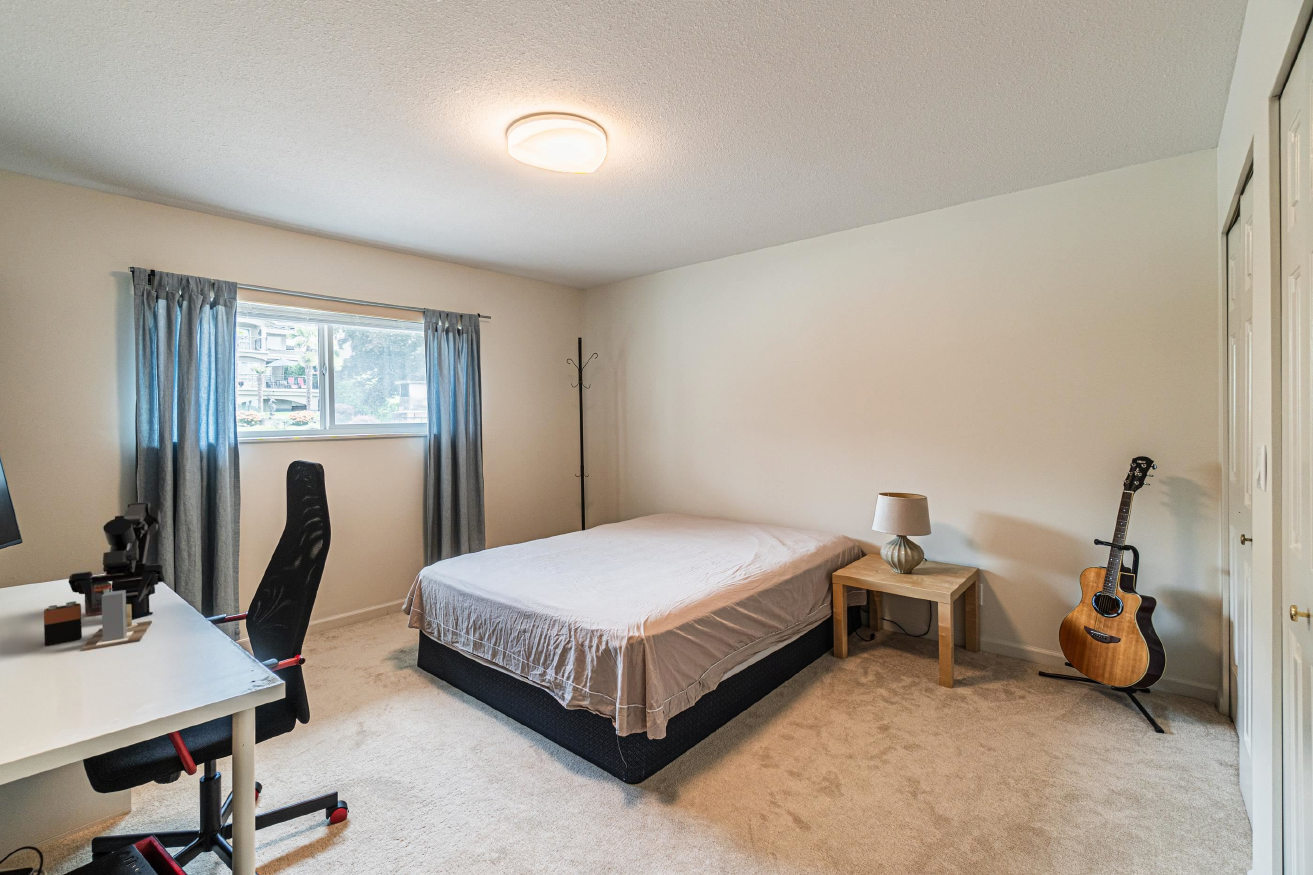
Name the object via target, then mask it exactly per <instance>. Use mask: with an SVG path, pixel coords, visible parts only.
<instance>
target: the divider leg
mask: <svg viewBox="0 0 1313 875" xmlns="http://www.w3.org/2000/svg"><path fill="white" fill-rule="evenodd" d="M101 619H102V624H101V628H102V629H103V642H105V641H111V640H117V639H123V638H124V637H125V636H126V635H127V621H126V590H122V591H114V592H106V593H104V594H103V595H102V614H101Z"/></svg>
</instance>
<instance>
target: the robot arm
mask: <svg viewBox="0 0 1313 875" xmlns="http://www.w3.org/2000/svg"><path fill="white" fill-rule="evenodd" d="M161 523H162V515H161V511H160V509H159V508H157V507H154V506H153V505H151V503H150V502H147V501H142V502H131V503H128V504H127V508H126V510H124V514H123V515H115V516H114V518H113V519H111V520H109V521H107V522H106V523H105V524H104V525H103V532H104V536H105V538H106V541H107V544H108V545H109V546H110V547H109V548H110V549H109V551H107V552H104V553H103V554H102V555H103V556H102V566H103V567H102V571H103V572H104V573H105V574H98V575H97V574H96V575H94V574H93V573H92V571H91V570H89V571H82V572H80V571H79V572H73V573H72V574H70V575H69V576H68V584H69V586H70V589H71V591H72V593H77V594H79V595H84V597H85V596H86V598H87V601H88V604H89V607H90V609H92V608H93V605H94V593H95V591H94V589H93V588H94V583H103V582H109V583H111V587H112V592H114V591H122V590H126V605H127V604H131V611H132V620H135V619H138V618H143V617H145V616H150V615H154V612H153V611H151V609H150V596H151V595H154V594H156V586H157V585H159V583H163V582H165V581H166V570H165V567H164V564H163V563H153V564H146V560H147V555H148V549H149V548H148V547H149V544H150V537H151V536H153V534H155V533H156V532H158V529H159V525H161Z"/></svg>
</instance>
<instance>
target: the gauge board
mask: <svg viewBox="0 0 1313 875" xmlns="http://www.w3.org/2000/svg"><path fill="white" fill-rule="evenodd" d="M126 621H127V635H126V636H125V637H124V638H123V639H117V640H111V641H105V642H103V629H102V627H101V628H99V629H98V630H97V631H96V632H95V633H94V634H93V635H92V636H91V637H90V639H89V640H88V641H87V642H86V643H85V644H84V645H83V646H82V647H81V648H80V649H81V652H83V651H90V650H95V649H102V648H108V647H113V646H114V647H115V646H119V645H120V646H121V645H126V644H132V643H138V642H140V641H141V640H142V639H143V637H144V636H145V634H146V633H147V631H148V629H149V628H150V626H151V625H152V623H153V620H145V621H140V622H133V619H132V611H131V604H127V605H126Z"/></svg>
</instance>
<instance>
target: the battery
mask: <svg viewBox="0 0 1313 875" xmlns="http://www.w3.org/2000/svg"><path fill="white" fill-rule="evenodd" d="M82 626H83V625H82V605H81V603H80V602H79V603H77V601H76V600H75V601H69V602H65V604H64V605H59V606H58V605H57V604H53V605H49V606H48V607H47V608H45V609H44V610H43V633H44V637H43V638H44V647H45V646H46V647H48V646H53V645H59V644H64V643H68V642H73V641H79V640H81V639H82V638H83V632H82V630H83V629H82V628H83V627H82Z"/></svg>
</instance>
